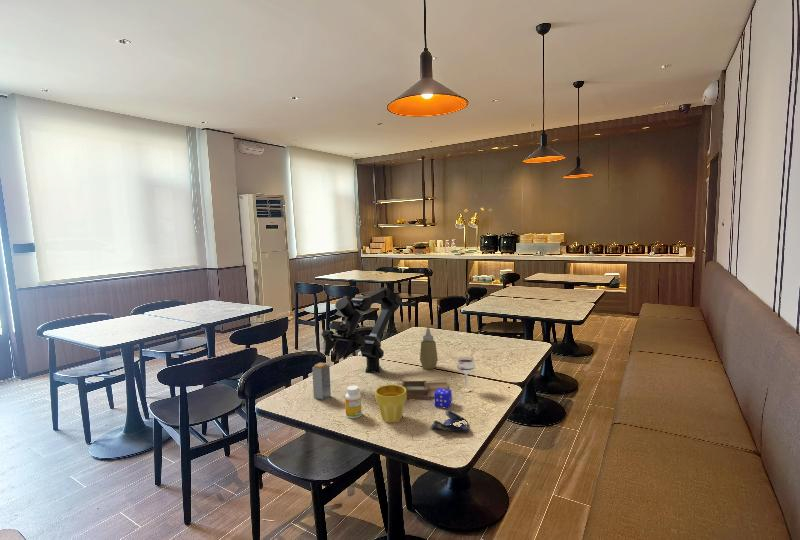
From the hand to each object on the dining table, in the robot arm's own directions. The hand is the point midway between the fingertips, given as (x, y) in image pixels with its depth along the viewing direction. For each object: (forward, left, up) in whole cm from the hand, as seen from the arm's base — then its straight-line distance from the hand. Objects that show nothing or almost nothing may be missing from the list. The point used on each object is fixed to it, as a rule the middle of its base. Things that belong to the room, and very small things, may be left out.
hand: (334, 356), depth 164 cm
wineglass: (+3, +51, -14) cm, 53 cm away
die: (+16, +41, -14) cm, 46 cm away
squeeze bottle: (-24, +38, -14) cm, 47 cm away
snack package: (+33, +42, -14) cm, 55 cm away
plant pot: (+26, +23, -14) cm, 37 cm away
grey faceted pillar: (+7, -4, -13) cm, 15 cm away
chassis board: (+4, +34, -13) cm, 37 cm away
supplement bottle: (+23, +10, -14) cm, 28 cm away
